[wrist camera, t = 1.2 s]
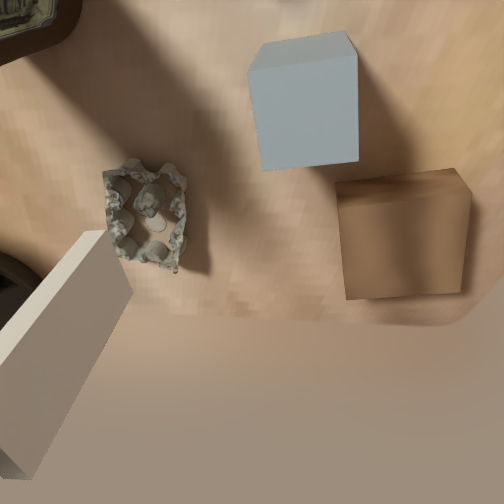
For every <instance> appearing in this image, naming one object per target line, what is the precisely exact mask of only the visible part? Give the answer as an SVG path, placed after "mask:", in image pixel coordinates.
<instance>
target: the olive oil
mask: <svg viewBox="0 0 504 504" xmlns="http://www.w3.org/2000/svg"><path fill="white" fill-rule="evenodd" d="M81 8H82V0H0V66H2V65H5V64H7V63H9V62H12V61H14V60H16V59H19V58H21V57H24V56H27V55H29V54H32V53H35V52H37V51H40V50H42V49H45V48H48V47H50V46H53V45H55V44H57V43H59V42H61V41H62V40H64V39H65V38H66V37H67V36H68V35H69V34H70V33H71V32H72V31H73V29H74V28H75V26H76V24H77V22H78V19H79V17H80V13H81Z"/></svg>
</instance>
